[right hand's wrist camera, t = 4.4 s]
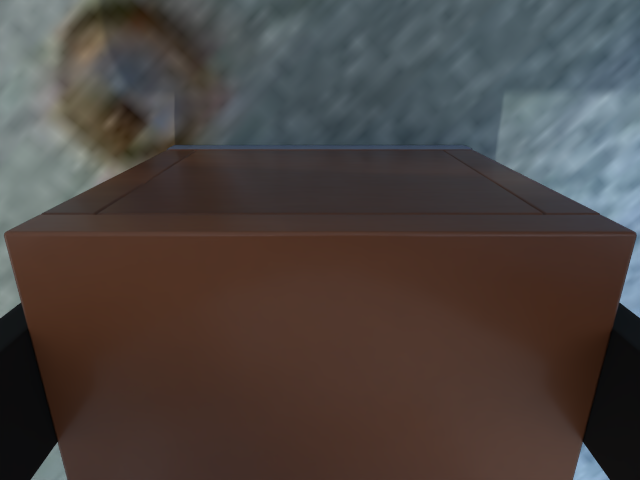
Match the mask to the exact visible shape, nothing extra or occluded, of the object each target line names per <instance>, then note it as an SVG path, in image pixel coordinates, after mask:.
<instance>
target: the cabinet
mask: <svg viewBox="0 0 640 480" xmlns="http://www.w3.org/2000/svg"><path fill="white" fill-rule="evenodd" d="M4 238H5V242H6V245H7V249H8V253H9V257H10V261H11V265H12V268H13V272H14V276H15V280H16V284H17V288H18V292H19V295H20V299H21V303H22V307H23V311H24V315H25V318H26V322H27V326H28V330H29V334H30V338H31V341H32V345H33V349H34V353H35V357H36V361H37V365H38V368H39V372H40V376H41V380H42V384H43V388H44V391H45V395H46V399H47V403H48V407H49V411H50V414H51V418H52V422H53V426H54V430H55V434H56V438H57V441H58V445H59V449H60V453H61V457H62V461H63V464H64V468H65V472H66V476H67V480H573V477H574V473H575V469H576V466H577V462H578V458H579V454H580V450H581V446H582V443H583V439H584V435H585V431H586V427H587V424H588V420H589V416H590V412H591V408H592V404H593V401H594V397H595V393H596V389H597V385H598V381H599V378H600V374H601V370H602V366H603V362H604V359H605V355H606V351H607V347H608V343H609V339H610V336H611V332H612V328H613V324H614V320H615V317H616V313H617V309H618V305H619V301H620V297H621V294H622V290H623V286H624V282H625V278H626V274H627V271H628V267H629V263H630V259H631V255H632V252H633V248H634V244H635V240H636V232H634V231H632V230H630V229H628V228H626V227H624V226H622V225H620V224H618V223H616V222H614V221H612V220H610V219H608V218H606V217H604V216H602V215H600V214H599V213H598V212H596V211H594V210H592V209H590V208H588V207H586V206H584V205H582V204H580V203H578V202H576V201H574V200H572V199H570V198H568V197H566V196H564V195H562V194H560V193H558V192H556V191H554V190H552V189H550V188H548V187H546V186H544V185H542V184H540V183H538V182H536V181H534V180H532V179H530V178H528V177H526V176H524V175H522V174H520V173H518V172H516V171H514V170H512V169H510V168H508V167H506V166H504V165H502V164H500V163H498V162H496V161H494V160H492V159H490V158H488V157H486V156H484V155H482V154H480V153H478V152H476V151H474V150H472V148H470V147H468V146H466V145H174V146H172V147H170V148H168V149H167V151H164V152H162V153H160V154H158V155H156V156H154V157H153V158H151V159H149V160H147V161H145V162H143V163H141V164H139V165H137V166H135V167H133V168H131V169H129V170H127V171H125V172H123V173H121V174H119V175H117V176H115V177H113V178H111V179H109V180H107V181H105V182H103V183H101V184H99V185H97V186H95V187H93V188H91V189H89V190H87V191H85V192H83V193H81V194H79V195H77V196H75V197H73V198H71V199H69V200H68V201H66V202H64V203H62V204H60V205H58V206H56V207H54V208H52V209H50V210H48V211H46V212H44V213H42V214H41V215H38V216H36V217H34V218H32V219H30V220H28V221H26V222H24V223H22V224H20V225H18V226H16V227H14V228H12V229H11V230H9V231H7V232H5V233H4Z"/></svg>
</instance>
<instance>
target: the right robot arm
mask: <svg viewBox="0 0 640 480" xmlns="http://www.w3.org/2000/svg"><path fill="white" fill-rule="evenodd" d="M57 442H58V441H57V438H56V434H55V430H54V426H53V422H52V418H51V414H50V411H49V407H48V403H47V399H46V395H45V391H44V388H43V384H42V380H41V376H40V372H39V368H38V365H37V361H36V357H35V353H34V349H33V345H32V341H31V338H30V334H29V330H28V326H27V322H26V318H25V315H24V311H23V307H22V303H20V304H19V305H17V306H16V307H15V308H13V309H12V310H11V311H9V312H8V313H7V314H6V315H4V316H3V317H2V318H0V480H31V478H32V477H33V476H34V474H35V473H36V471H37V470H38V469H39V467H40V466H41V464H42V463H43V462H44V460H45V459H46V457H47V456H48V454H49V453H50V452H51V450H52V449H53V447H54V446H55V445H56V443H57ZM583 443H584V444H585V445H586V447H587V448H588V450H589V451H590V452H591V454H592V455H593V457H594V458H595V459H596V461H597V462H598V464H599V465H600V466H601V468H602V469H603V471H604V472H605V473H606V475H607V476H608V478H609V479H610V480H640V318H639V317H638V316H636V315H635V314H634V313H632V312H631V311H630V310H628V309H627V308H626V307H625V306H623V305H622V304H621V303H619V305H618V309H617V313H616V317H615V320H614V324H613V328H612V332H611V336H610V339H609V343H608V347H607V351H606V355H605V359H604V362H603V366H602V370H601V374H600V378H599V381H598V385H597V389H596V393H595V397H594V401H593V404H592V408H591V412H590V416H589V420H588V424H587V427H586V431H585V435H584V439H583Z"/></svg>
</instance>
